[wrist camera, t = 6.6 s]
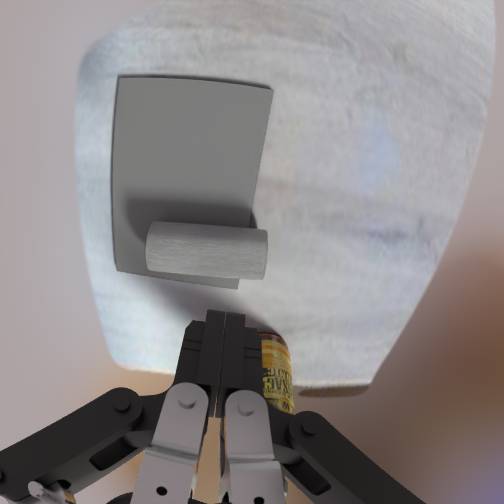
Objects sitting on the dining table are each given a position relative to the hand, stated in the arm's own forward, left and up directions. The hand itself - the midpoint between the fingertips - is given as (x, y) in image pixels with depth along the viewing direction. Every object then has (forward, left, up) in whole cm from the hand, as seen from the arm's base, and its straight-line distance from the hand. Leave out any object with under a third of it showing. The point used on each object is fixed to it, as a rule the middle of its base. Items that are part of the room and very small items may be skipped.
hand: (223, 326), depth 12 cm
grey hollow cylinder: (+4, +3, -14) cm, 15 cm away
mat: (0, -5, -17) cm, 18 cm away
